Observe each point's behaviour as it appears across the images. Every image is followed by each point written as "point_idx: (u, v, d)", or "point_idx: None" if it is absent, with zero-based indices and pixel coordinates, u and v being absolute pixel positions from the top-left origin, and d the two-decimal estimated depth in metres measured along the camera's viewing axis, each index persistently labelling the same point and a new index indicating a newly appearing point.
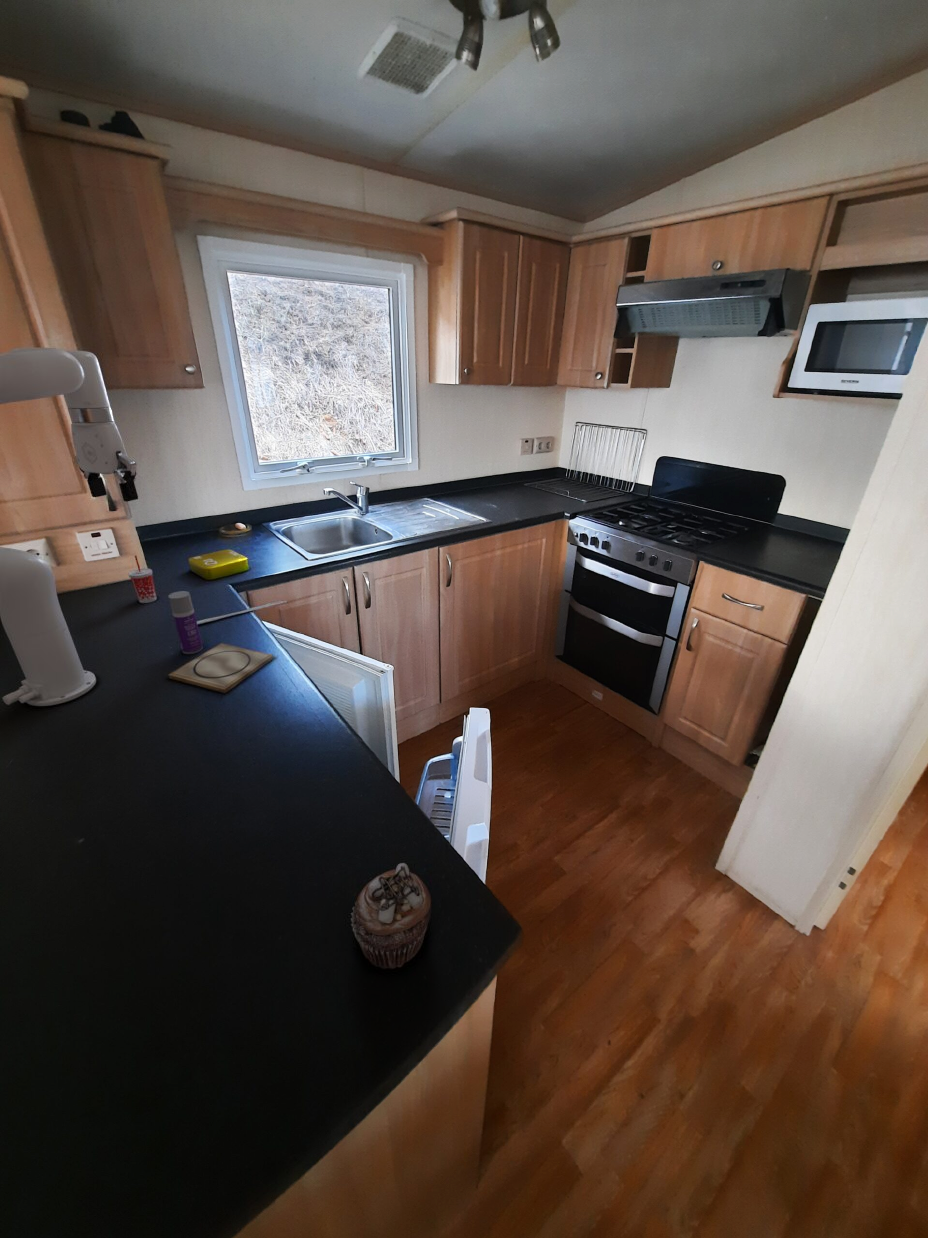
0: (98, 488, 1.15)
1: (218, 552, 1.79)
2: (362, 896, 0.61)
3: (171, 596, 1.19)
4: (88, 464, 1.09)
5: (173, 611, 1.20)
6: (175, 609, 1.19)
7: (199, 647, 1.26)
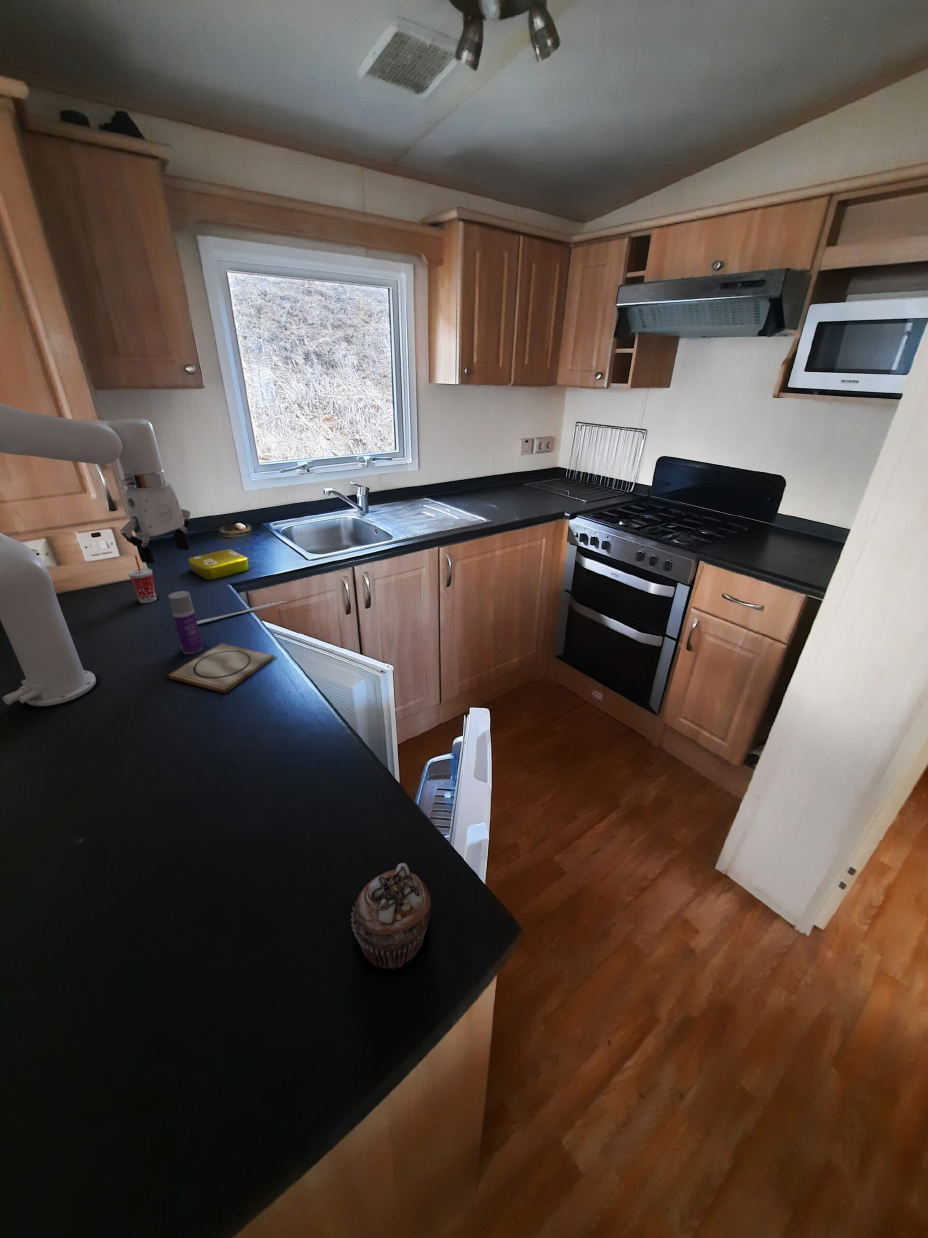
0: None
1: (218, 552, 1.79)
2: (362, 896, 0.61)
3: (171, 596, 1.19)
4: (162, 526, 1.11)
5: (173, 611, 1.20)
6: (175, 609, 1.19)
7: (199, 647, 1.26)
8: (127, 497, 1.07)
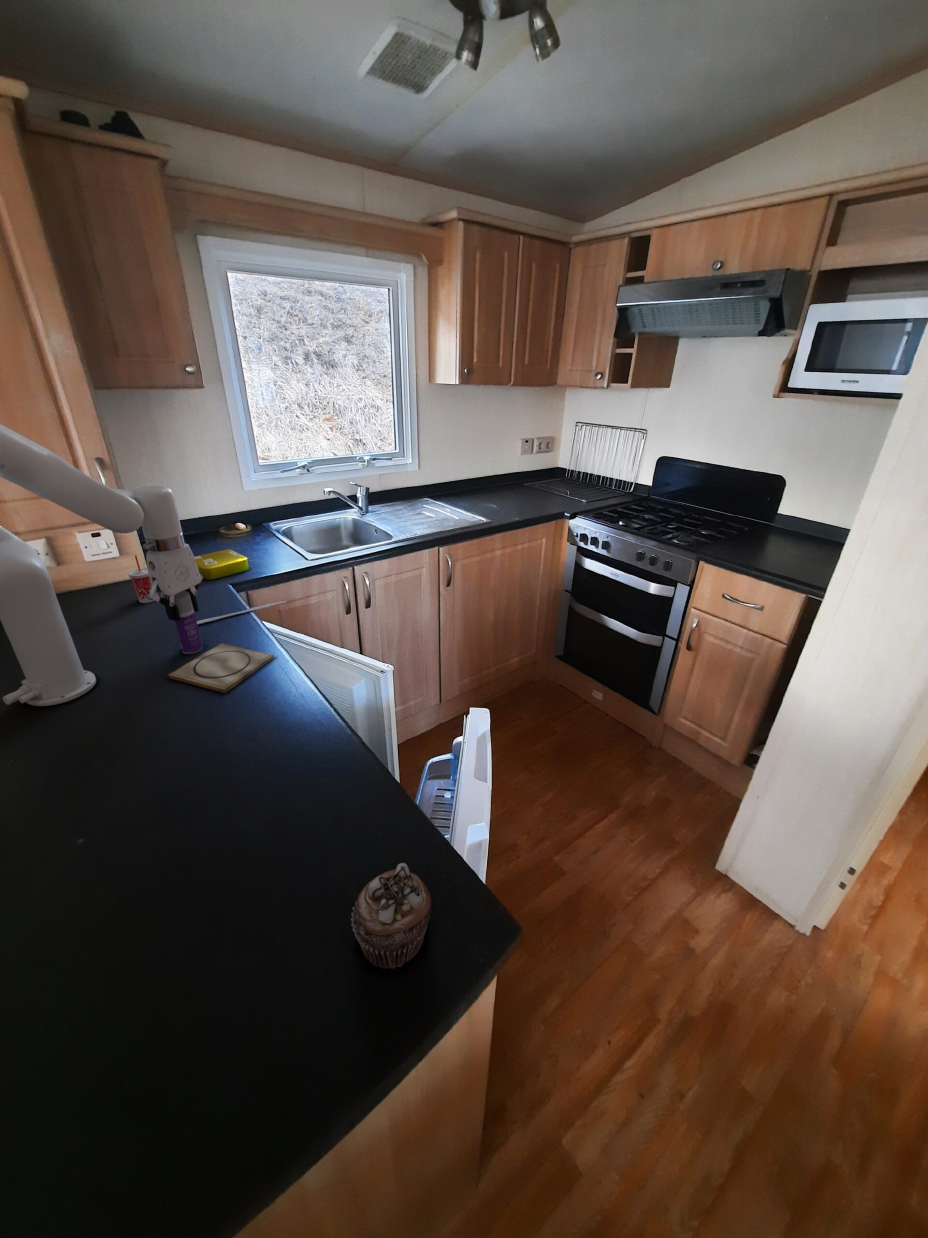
0: None
1: (218, 552, 1.79)
2: (362, 896, 0.61)
3: None
4: (180, 585, 1.17)
5: None
6: None
7: (199, 647, 1.26)
8: (148, 560, 1.12)
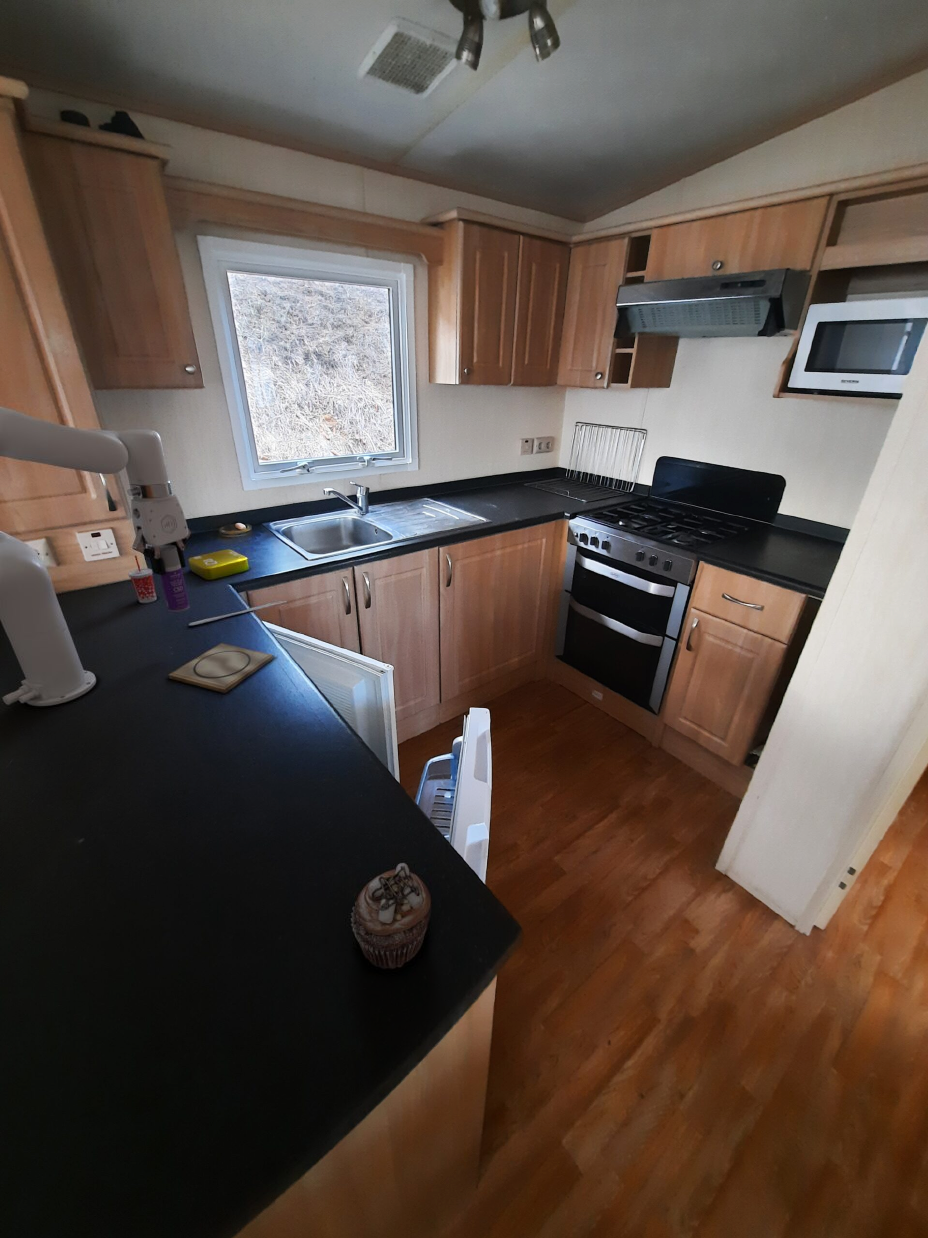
0: None
1: (218, 552, 1.79)
2: (362, 896, 0.61)
3: None
4: (166, 536, 1.11)
5: None
6: None
7: (186, 605, 1.20)
8: (132, 507, 1.07)
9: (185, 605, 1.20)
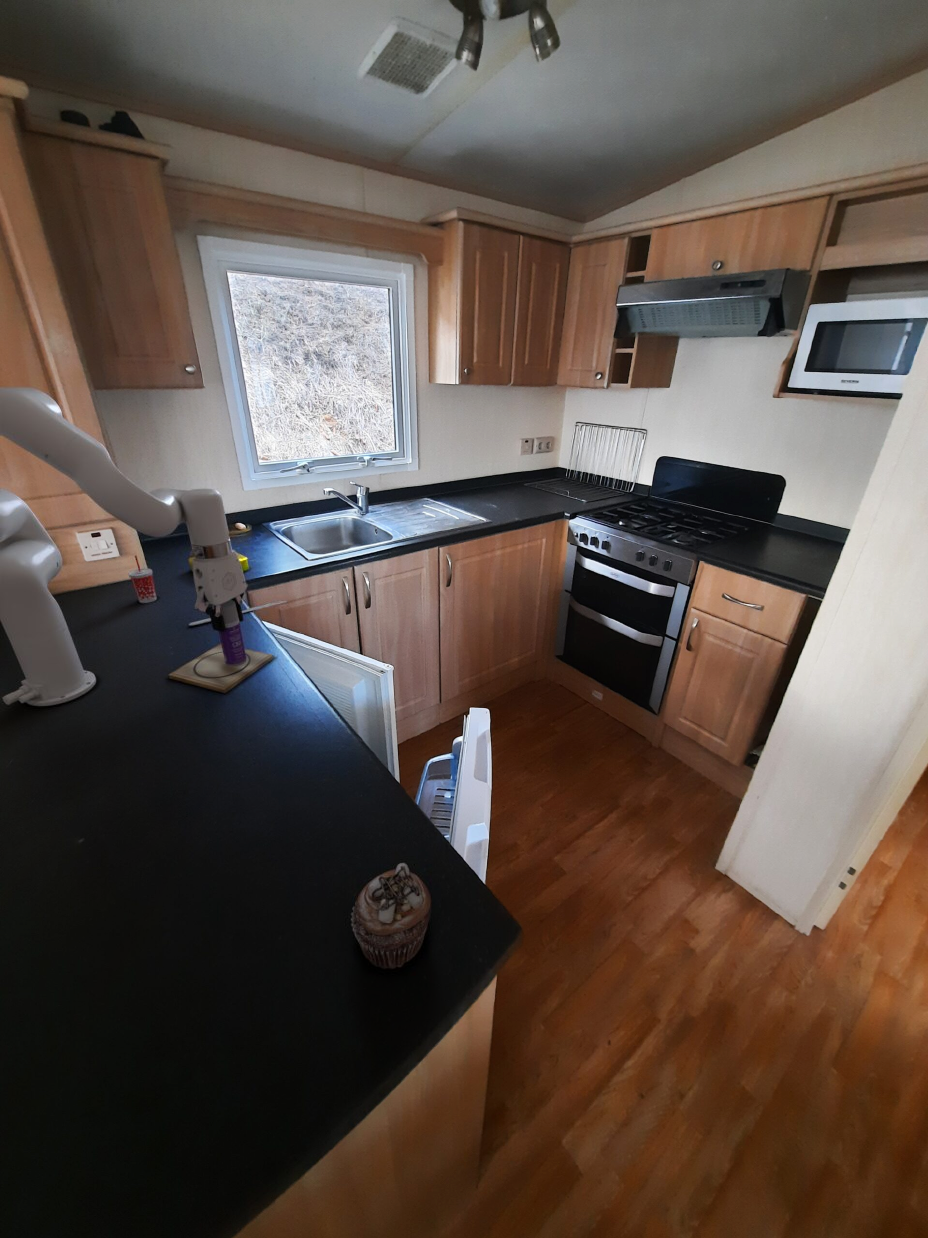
0: None
1: None
2: (362, 896, 0.61)
3: None
4: (226, 594, 1.10)
5: None
6: None
7: (243, 659, 1.19)
8: (194, 567, 1.05)
9: (243, 659, 1.19)
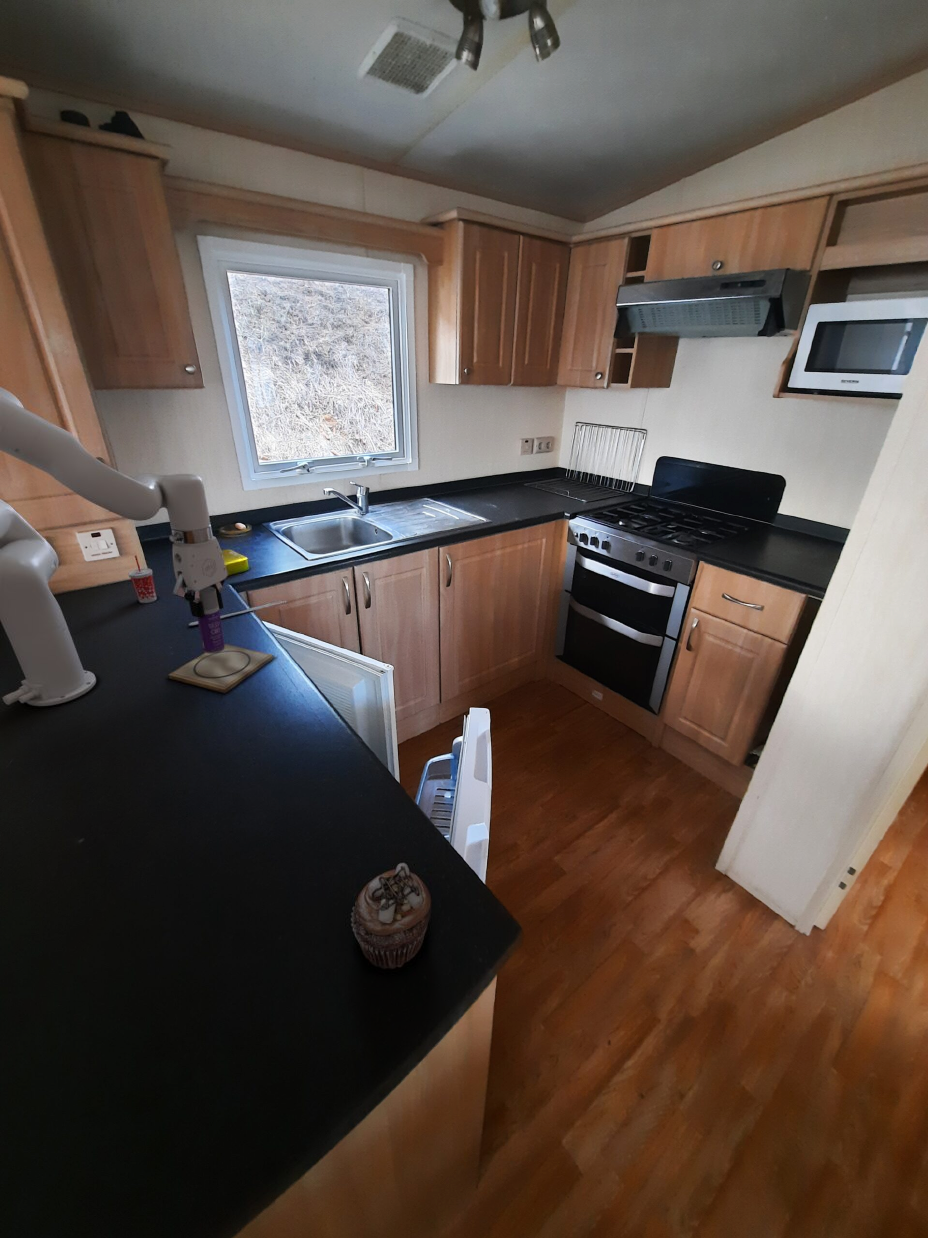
0: None
1: None
2: (362, 896, 0.61)
3: None
4: (206, 580, 1.10)
5: None
6: None
7: (221, 647, 1.19)
8: (174, 552, 1.05)
9: (221, 646, 1.18)
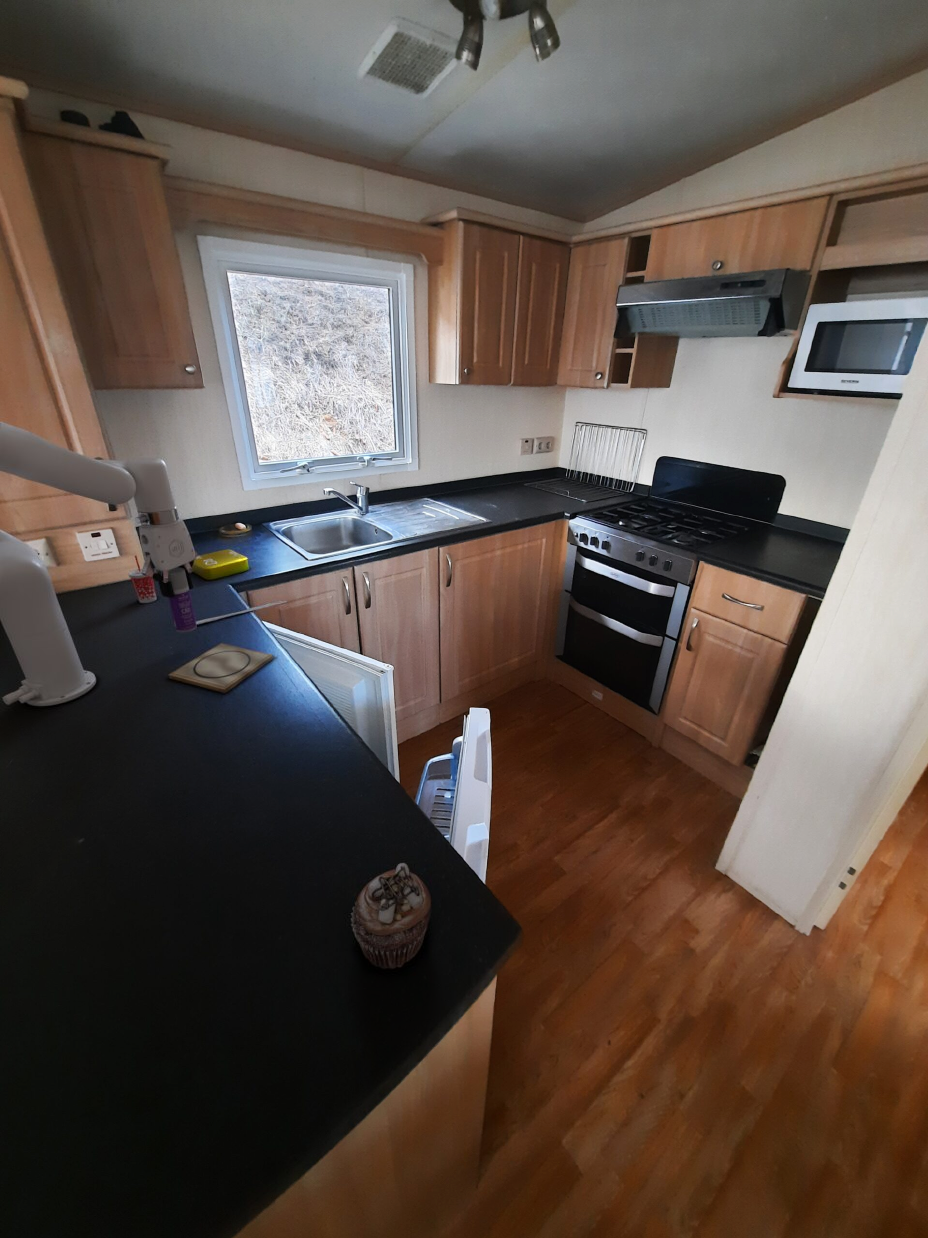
0: None
1: (218, 552, 1.79)
2: (362, 896, 0.61)
3: None
4: (174, 560, 1.14)
5: None
6: None
7: (193, 626, 1.23)
8: (141, 533, 1.10)
9: (192, 625, 1.23)
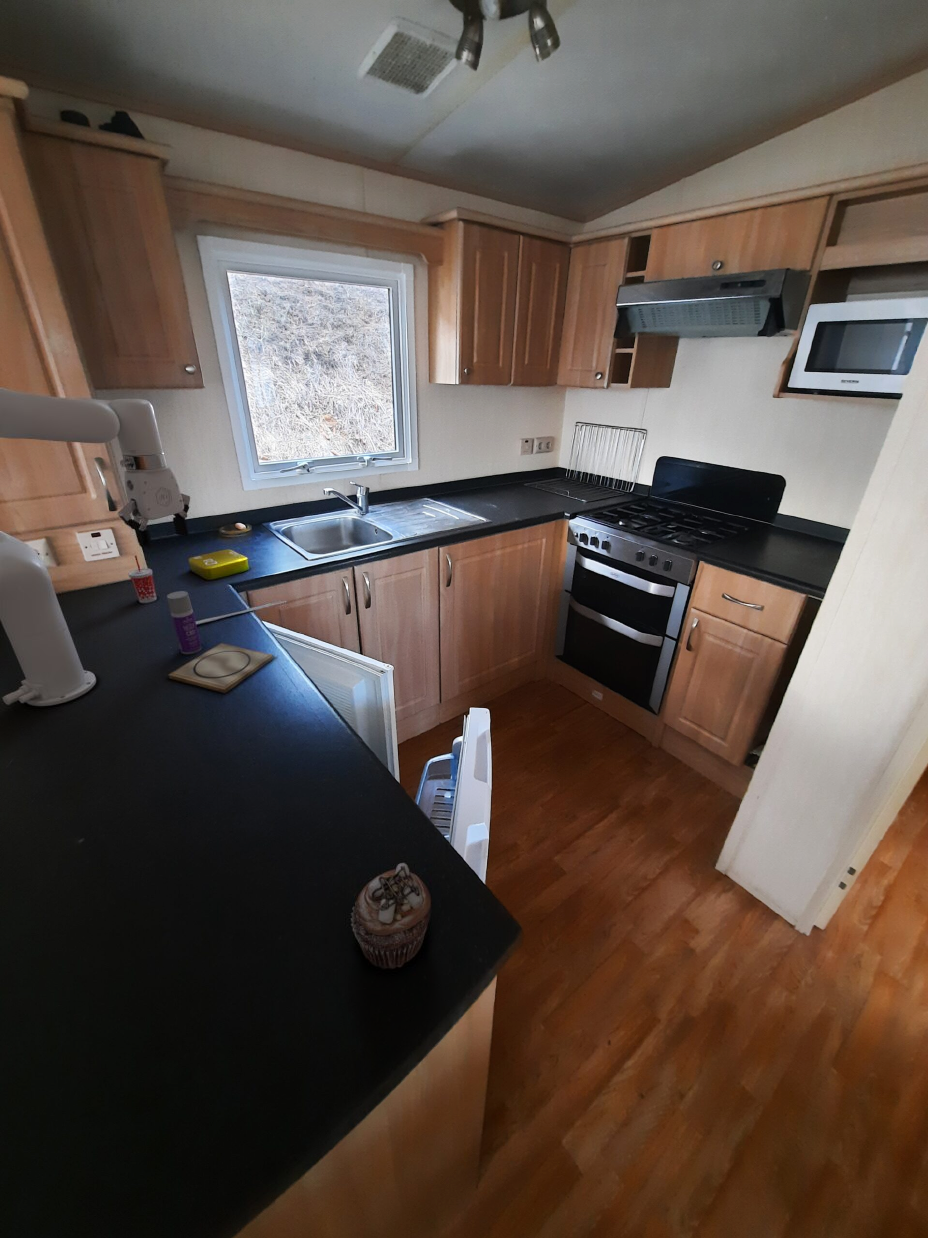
0: None
1: (218, 552, 1.79)
2: (362, 896, 0.61)
3: (170, 596, 1.19)
4: (161, 509, 1.09)
5: (172, 611, 1.20)
6: (173, 609, 1.19)
7: (198, 647, 1.26)
8: (126, 479, 1.04)
9: (197, 647, 1.26)
